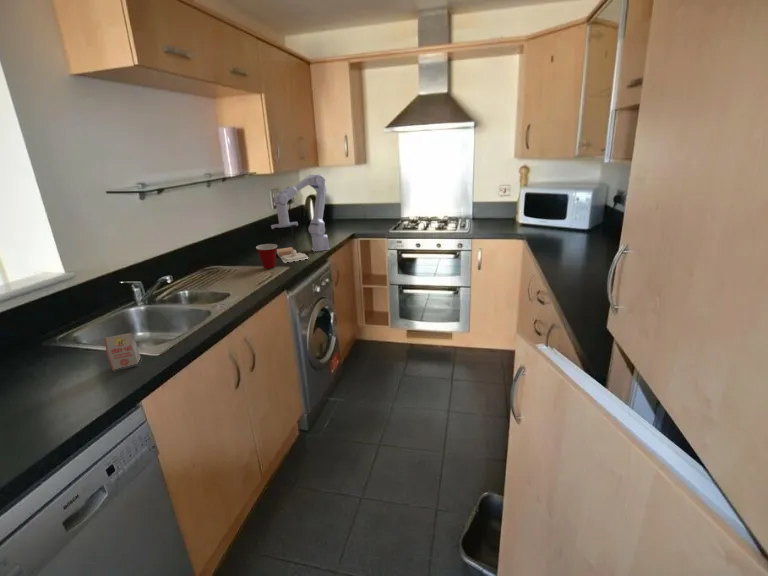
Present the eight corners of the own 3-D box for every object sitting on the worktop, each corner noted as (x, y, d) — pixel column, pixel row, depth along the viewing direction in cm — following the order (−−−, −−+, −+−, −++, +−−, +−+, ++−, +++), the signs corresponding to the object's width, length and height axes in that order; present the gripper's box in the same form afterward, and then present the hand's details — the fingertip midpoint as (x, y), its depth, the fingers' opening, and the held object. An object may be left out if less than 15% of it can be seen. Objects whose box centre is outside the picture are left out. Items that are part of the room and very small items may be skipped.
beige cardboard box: (116, 365, 119) (106, 335, 116) (141, 360, 121) (132, 330, 118) (112, 371, 116) (102, 340, 112) (138, 366, 118) (129, 335, 114)
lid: (300, 254, 235) (299, 247, 234) (306, 257, 226) (305, 250, 224) (282, 257, 230) (281, 250, 229) (287, 261, 221) (286, 253, 219)
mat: (304, 254, 236) (304, 253, 236) (309, 259, 224) (309, 258, 223) (280, 257, 231) (280, 257, 231) (284, 263, 219) (284, 262, 219)
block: (292, 251, 244) (291, 247, 243) (294, 254, 236) (294, 250, 235) (277, 254, 241) (276, 249, 240) (279, 257, 233) (278, 252, 232)
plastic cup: (273, 271, 205) (269, 248, 201) (255, 270, 209) (251, 248, 205) (284, 265, 215) (281, 243, 211) (267, 264, 219) (263, 243, 215)
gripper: (294, 213, 229) (298, 236, 233) (269, 216, 224) (272, 240, 228) (297, 214, 223) (300, 238, 227) (270, 218, 218) (274, 242, 222)
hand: (286, 239), depth 227 cm, fingers open, 7 cm apart
